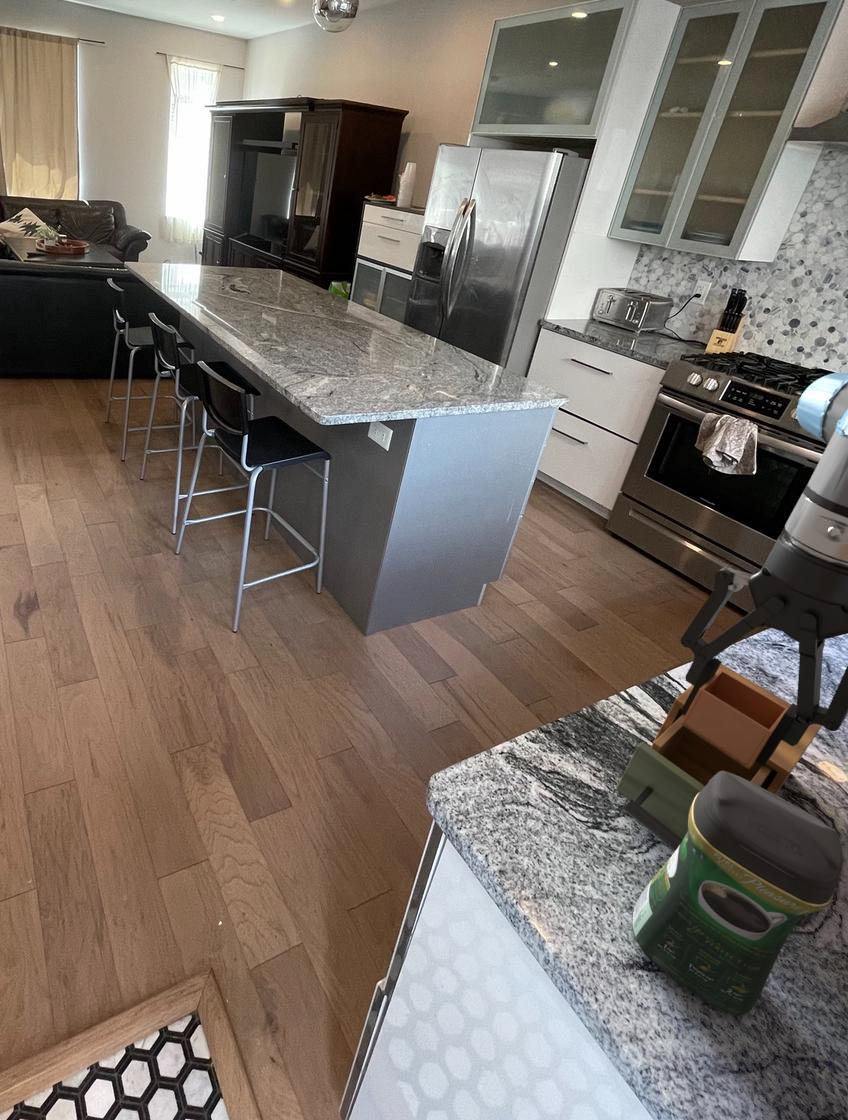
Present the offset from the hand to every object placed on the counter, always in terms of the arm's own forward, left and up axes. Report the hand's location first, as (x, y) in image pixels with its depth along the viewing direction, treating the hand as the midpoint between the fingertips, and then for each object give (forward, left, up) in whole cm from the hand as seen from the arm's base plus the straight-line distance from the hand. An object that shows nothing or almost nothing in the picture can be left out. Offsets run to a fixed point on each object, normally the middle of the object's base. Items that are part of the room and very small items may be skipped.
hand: (724, 732), depth 67 cm
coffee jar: (+6, +17, -12) cm, 21 cm away
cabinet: (-7, -9, -11) cm, 16 cm away
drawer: (+2, +2, -10) cm, 11 cm away
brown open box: (0, 0, 0) cm, 0 cm away
